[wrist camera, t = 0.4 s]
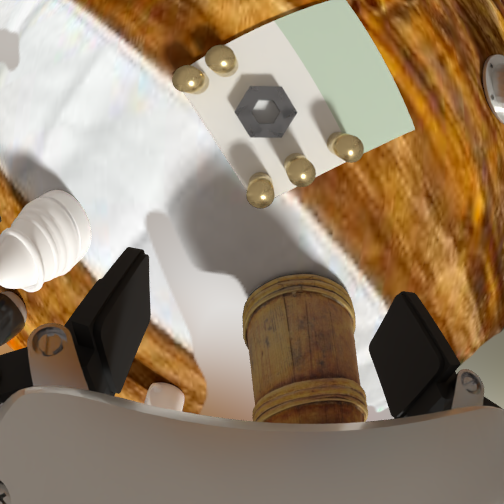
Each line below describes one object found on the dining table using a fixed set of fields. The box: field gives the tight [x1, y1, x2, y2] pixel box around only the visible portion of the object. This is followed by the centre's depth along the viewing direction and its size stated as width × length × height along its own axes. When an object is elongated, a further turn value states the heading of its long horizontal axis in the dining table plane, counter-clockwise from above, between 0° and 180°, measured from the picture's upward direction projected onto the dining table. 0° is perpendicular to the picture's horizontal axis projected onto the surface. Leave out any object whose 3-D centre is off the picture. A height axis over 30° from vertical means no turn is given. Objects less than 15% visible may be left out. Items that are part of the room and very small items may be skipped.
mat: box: [183, 0, 415, 198], centre depth 29 cm, size 24×20×1 cm
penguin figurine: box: [0, 291, 27, 346], centre depth 41 cm, size 10×10×15 cm
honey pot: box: [0, 190, 91, 292], centre depth 31 cm, size 13×13×18 cm
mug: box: [144, 382, 184, 412], centre depth 52 cm, size 9×12×11 cm
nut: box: [235, 86, 297, 138], centre depth 29 cm, size 6×7×2 cm
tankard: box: [243, 274, 368, 424], centre depth 35 cm, size 18×24×25 cm
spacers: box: [172, 45, 364, 208], centre depth 28 cm, size 14×18×5 cm
